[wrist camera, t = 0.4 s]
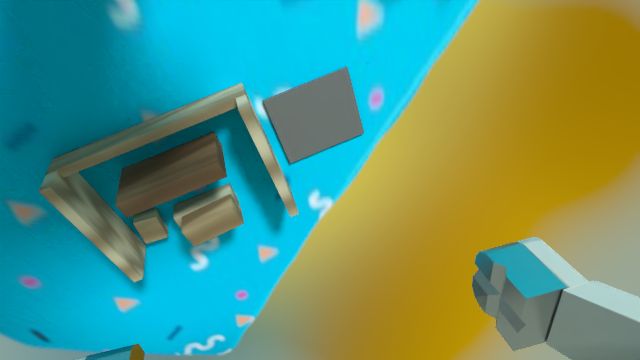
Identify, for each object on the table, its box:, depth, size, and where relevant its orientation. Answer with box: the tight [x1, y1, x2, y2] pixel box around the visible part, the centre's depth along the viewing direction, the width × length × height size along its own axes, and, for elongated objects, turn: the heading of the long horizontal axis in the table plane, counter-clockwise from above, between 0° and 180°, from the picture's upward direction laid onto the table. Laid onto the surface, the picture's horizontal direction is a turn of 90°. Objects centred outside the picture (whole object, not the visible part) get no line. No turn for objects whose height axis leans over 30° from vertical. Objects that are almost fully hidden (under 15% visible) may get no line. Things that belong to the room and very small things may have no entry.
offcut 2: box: [174, 183, 239, 229], centre depth 53 cm, size 3×8×3 cm, turn 107°
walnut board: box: [115, 132, 227, 218], centre depth 46 cm, size 2×12×7 cm, turn 109°
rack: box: [39, 83, 299, 282], centre depth 49 cm, size 17×23×6 cm
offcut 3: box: [182, 194, 244, 246], centre depth 51 cm, size 3×7×3 cm, turn 112°
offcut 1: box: [133, 208, 168, 244], centre depth 53 cm, size 4×3×2 cm
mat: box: [263, 67, 364, 163], centre depth 51 cm, size 10×11×1 cm
